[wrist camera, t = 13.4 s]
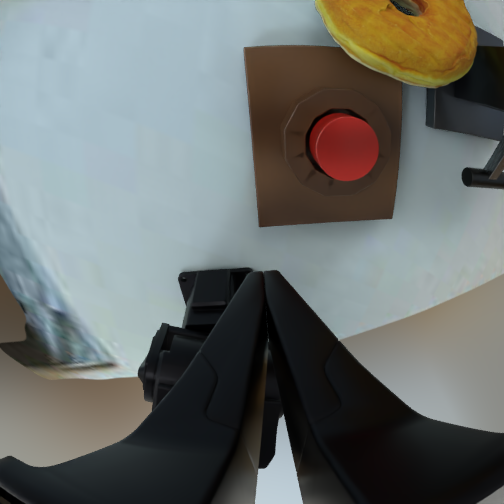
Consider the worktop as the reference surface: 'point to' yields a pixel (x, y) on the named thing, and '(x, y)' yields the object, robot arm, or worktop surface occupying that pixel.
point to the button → (344, 146)
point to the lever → (487, 171)
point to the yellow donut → (405, 37)
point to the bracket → (473, 94)
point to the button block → (301, 124)
